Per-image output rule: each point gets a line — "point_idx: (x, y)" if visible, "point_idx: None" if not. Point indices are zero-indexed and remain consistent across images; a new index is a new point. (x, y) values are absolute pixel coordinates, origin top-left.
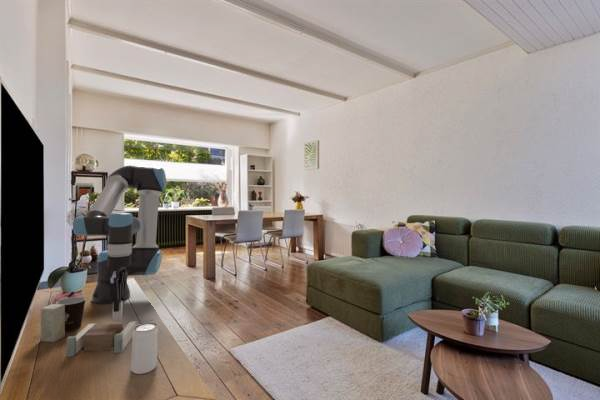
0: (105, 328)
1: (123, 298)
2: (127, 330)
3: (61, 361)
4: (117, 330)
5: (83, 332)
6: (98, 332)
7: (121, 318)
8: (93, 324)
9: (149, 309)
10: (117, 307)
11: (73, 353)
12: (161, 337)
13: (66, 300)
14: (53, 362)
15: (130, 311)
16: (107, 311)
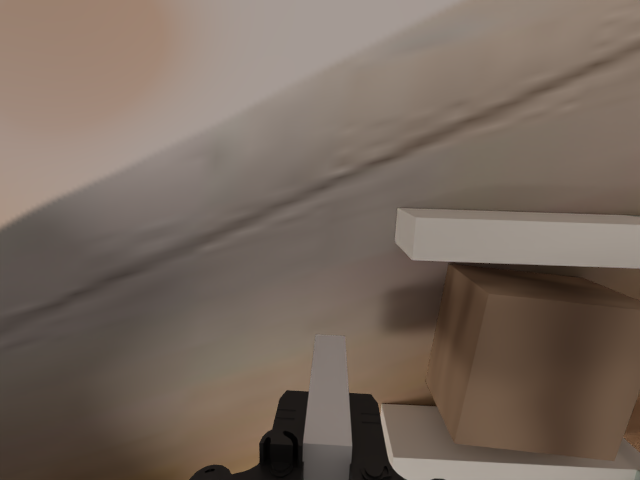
0: (543, 380)
1: (288, 459)
2: (578, 233)
3: (628, 440)
4: (570, 298)
5: (519, 474)
6: (598, 400)
7: (327, 336)
8: (406, 463)
9: (25, 219)
10: (381, 428)
11: None
12: (515, 19)
13: None
14: None
15: (63, 327)
16: (65, 445)
